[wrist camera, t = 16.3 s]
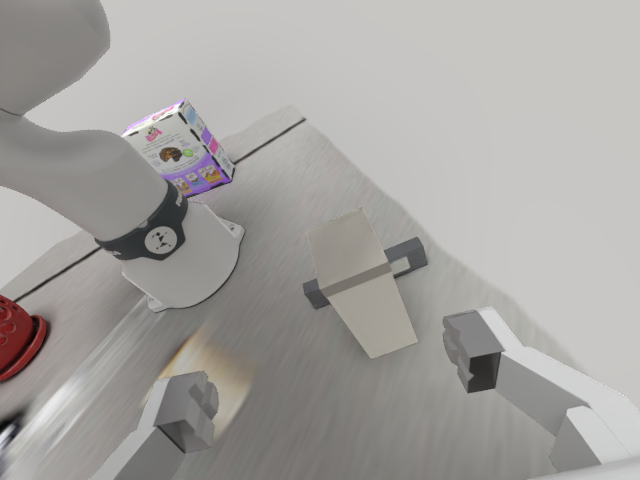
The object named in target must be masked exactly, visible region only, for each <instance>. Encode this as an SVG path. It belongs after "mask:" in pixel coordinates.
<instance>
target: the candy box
mask: <svg viewBox="0 0 640 480" xmlns="http://www.w3.org/2000/svg"><path fill="white" fill-rule="evenodd" d="M121 137H122V138H124V139H126V140H127V141H128V142H129V143H130V144H131V145H132V146H133V147H134V148H135V149H136V150H137V151H138V152H139V154H140V155H141V156H142V157H143V158H144V159H145V160H146V161H147V162H148V163H149V164H150V165H151V166H152V167H153V168H154V169H155V170H156V171H157V173H158V174H159V175H160V176H161V177H162V178H163V179H167V180H169V181H170V182H171V183H172V184H173V185H175V186H176V187H177V188H178V189H179V190H180V191H181V193H182V194H183V195H184V196H185V197H186V198H189V197H191V196H194V195H196V194H199V193H202V192H205V191H207V190H210V189H212V188H215V187H217V186H220V185H223V184H225V183H228V182H230V181H231V179H232V176H233V172H234V169H235V166H234V164H233V163H232V161H231V160H230V159H229V157H228V156H227V155H226V153H225V152H224V150H223V149H222V148H221V146H220V145H219V143H218V142H217V141H216V139H215V138H214V137H213V135H212V134H211V133H210V131H209V130H208V128H207V127H206V125H205V124H204V123H203V121H202V120H201V118H200V117H199V116H198V114H197V113H196V112H195V110H194V109H193V107H192V106H191V105H190V103H189V102H188V100H187V99H186V98H185V99H183V100H181V101H179V102H177V103H174V104H173V105H170V106H168V107H166V108H164V109H162V110H160V111H158V112H156V113H154V114H151V115H150V116H147V117H146V118H143V119H141V120H139V121H137V122H134V123H132V124H130V125H129V126H128V127H127V129H126V130H125V131H124V133H123V134H122V136H121Z"/></svg>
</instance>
